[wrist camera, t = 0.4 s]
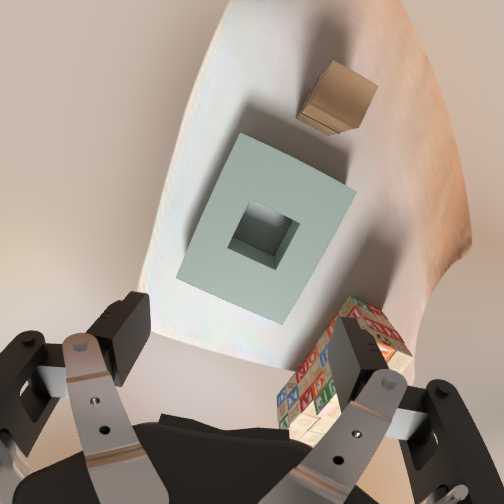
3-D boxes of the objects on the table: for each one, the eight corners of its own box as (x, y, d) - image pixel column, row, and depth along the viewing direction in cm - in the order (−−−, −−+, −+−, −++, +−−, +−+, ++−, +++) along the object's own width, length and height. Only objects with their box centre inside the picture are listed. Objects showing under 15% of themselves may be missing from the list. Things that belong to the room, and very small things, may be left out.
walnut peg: (311, 87, 33) (332, 59, 21) (344, 105, 33) (379, 85, 22) (295, 118, 34) (311, 101, 23) (329, 136, 35) (359, 128, 23)
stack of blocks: (307, 405, 48) (315, 461, 36) (275, 395, 47) (278, 453, 35) (382, 309, 42) (415, 358, 30) (349, 293, 41) (377, 342, 29)
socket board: (243, 135, 35) (240, 132, 30) (345, 187, 37) (357, 191, 32) (185, 263, 40) (175, 277, 35) (280, 305, 42) (282, 324, 37)
